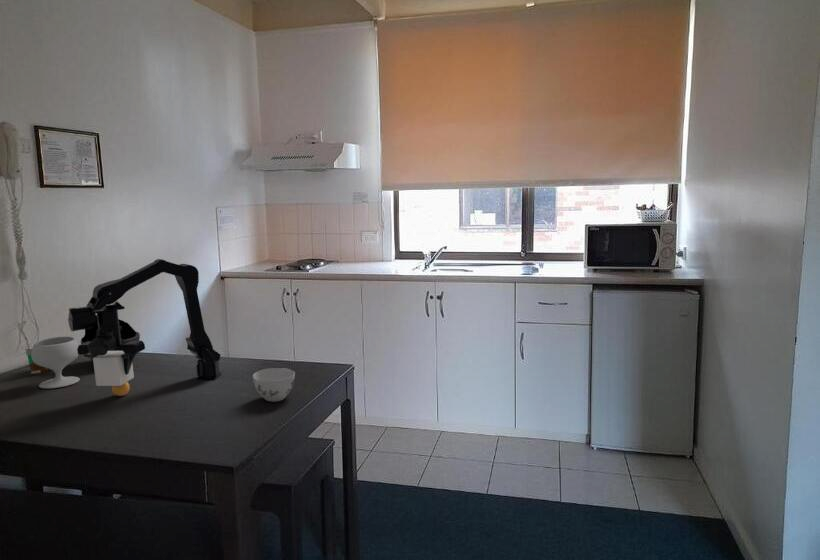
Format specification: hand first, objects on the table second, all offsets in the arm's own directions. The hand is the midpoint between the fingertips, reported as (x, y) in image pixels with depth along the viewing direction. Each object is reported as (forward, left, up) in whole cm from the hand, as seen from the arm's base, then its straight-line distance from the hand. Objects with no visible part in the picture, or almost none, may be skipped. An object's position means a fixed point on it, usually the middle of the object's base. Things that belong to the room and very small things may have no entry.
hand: (114, 374), depth 184 cm
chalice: (+29, -15, -8) cm, 34 cm away
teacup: (-51, -1, -8) cm, 52 cm away
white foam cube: (0, 0, -2) cm, 2 cm away
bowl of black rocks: (+24, -39, -8) cm, 46 cm away
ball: (0, -3, -5) cm, 6 cm away
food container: (+43, -29, -8) cm, 53 cm away
